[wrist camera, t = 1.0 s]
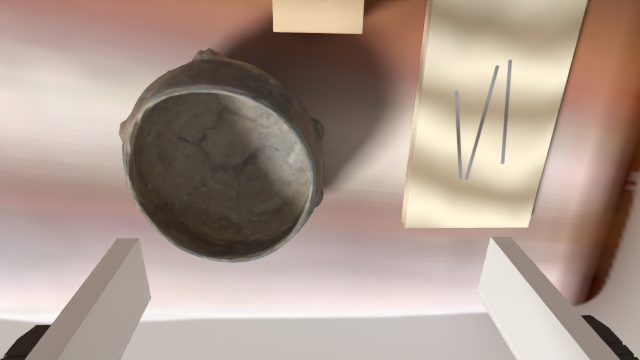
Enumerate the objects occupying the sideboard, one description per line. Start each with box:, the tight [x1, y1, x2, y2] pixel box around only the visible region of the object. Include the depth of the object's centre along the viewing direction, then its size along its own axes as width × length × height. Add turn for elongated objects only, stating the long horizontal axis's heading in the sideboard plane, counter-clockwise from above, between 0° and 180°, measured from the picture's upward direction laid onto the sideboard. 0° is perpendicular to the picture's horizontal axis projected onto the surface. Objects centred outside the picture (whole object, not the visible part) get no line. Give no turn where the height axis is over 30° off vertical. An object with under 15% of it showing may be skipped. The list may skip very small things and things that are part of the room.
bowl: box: [119, 48, 324, 263], centre depth 30 cm, size 14×15×10 cm
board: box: [401, 0, 588, 228], centre depth 33 cm, size 24×12×2 cm, turn 179°
